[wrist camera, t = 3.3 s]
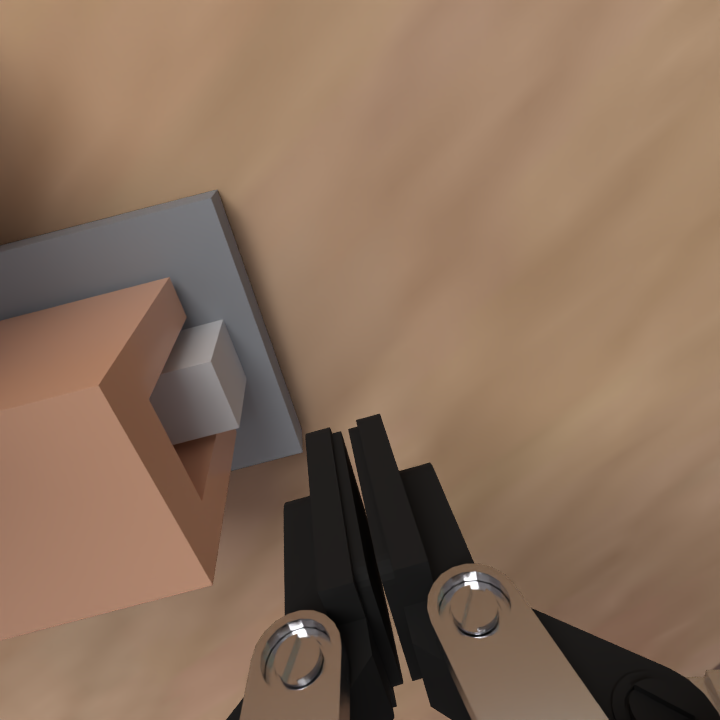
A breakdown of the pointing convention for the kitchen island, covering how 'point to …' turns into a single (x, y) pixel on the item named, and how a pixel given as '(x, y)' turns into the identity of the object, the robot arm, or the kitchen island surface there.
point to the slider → (99, 464)
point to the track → (200, 303)
